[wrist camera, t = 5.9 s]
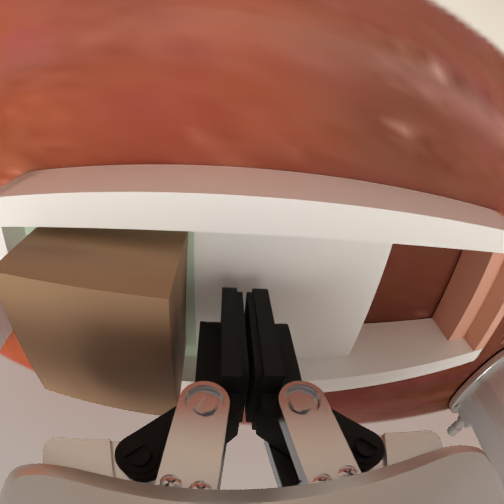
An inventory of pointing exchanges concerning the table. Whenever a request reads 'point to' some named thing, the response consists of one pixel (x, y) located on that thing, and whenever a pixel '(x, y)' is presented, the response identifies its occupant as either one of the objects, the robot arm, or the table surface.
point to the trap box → (291, 256)
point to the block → (101, 312)
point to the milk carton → (4, 326)
